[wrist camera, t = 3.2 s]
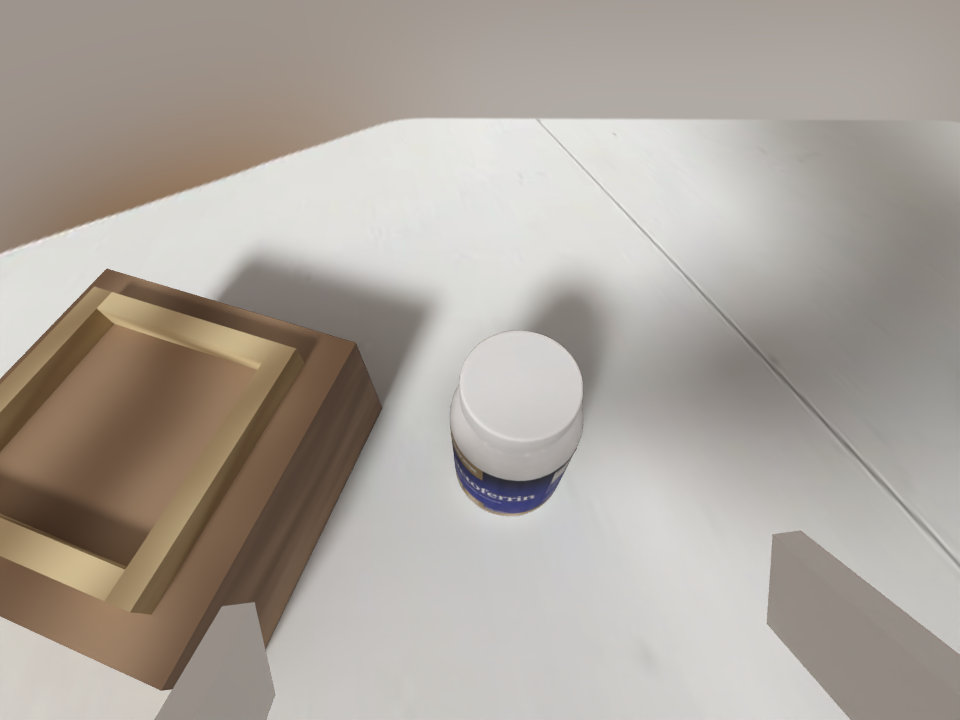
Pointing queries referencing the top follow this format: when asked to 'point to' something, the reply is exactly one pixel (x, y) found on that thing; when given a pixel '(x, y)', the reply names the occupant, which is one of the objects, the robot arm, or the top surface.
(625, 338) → the top surface
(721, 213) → the top surface
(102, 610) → the tray
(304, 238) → the top surface
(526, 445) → the pill bottle
